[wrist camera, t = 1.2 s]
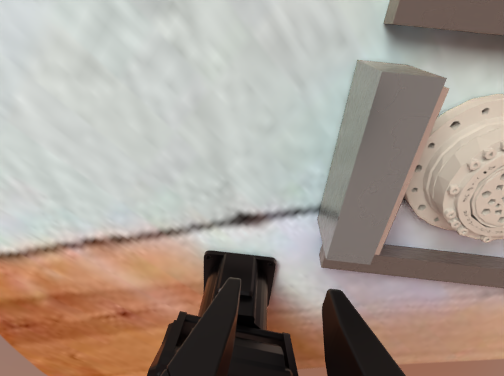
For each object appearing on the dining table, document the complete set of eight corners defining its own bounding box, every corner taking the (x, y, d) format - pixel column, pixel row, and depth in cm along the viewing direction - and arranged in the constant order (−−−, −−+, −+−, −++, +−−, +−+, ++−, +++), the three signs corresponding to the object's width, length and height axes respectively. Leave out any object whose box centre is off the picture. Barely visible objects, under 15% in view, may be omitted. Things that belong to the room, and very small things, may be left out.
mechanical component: (574, 169, 20) (522, 56, 17) (642, 204, 17) (594, 67, 13) (436, 239, 24) (372, 157, 21) (466, 280, 20) (394, 188, 17)
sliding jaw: (361, 224, 23) (379, 265, 19) (317, 219, 23) (326, 259, 19) (417, 66, 17) (459, 79, 13) (357, 59, 17) (381, 71, 13)
